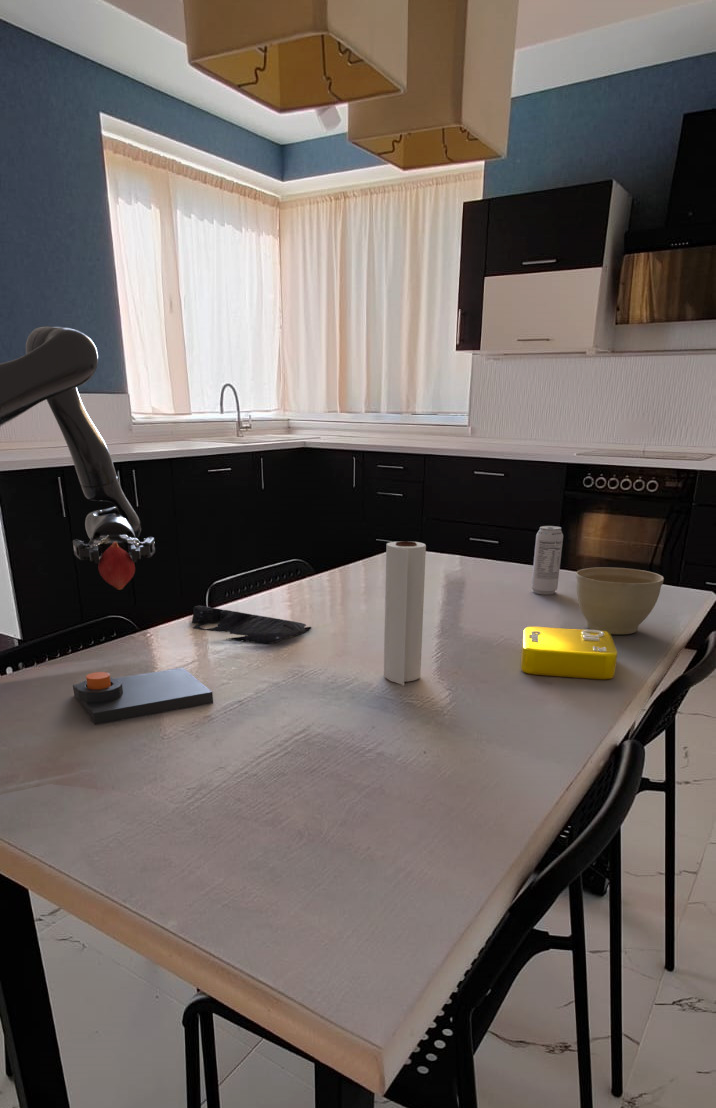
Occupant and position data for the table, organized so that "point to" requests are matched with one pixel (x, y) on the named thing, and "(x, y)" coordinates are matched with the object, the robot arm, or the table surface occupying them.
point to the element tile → (568, 653)
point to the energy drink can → (547, 560)
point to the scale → (142, 695)
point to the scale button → (98, 680)
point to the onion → (116, 566)
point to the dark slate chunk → (247, 625)
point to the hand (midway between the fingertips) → (115, 556)
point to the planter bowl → (617, 597)
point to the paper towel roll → (404, 610)
